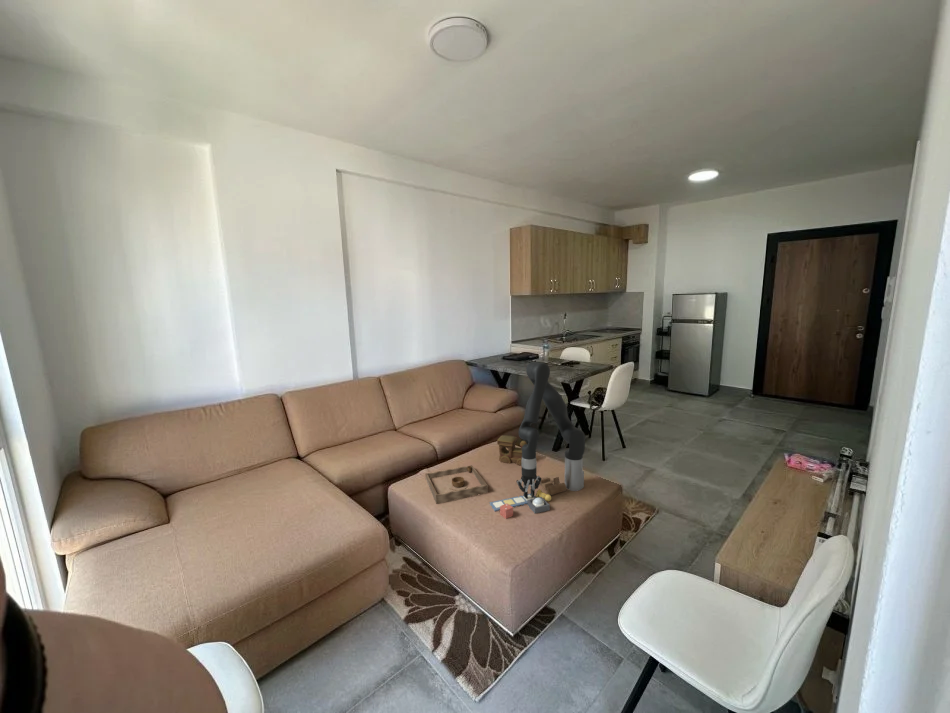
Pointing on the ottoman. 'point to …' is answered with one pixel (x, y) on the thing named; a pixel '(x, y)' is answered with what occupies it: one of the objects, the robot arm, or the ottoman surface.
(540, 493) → the pawn
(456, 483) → the place setting
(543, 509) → the base
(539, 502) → the dome
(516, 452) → the wooden toy train
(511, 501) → the board
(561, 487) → the wooden block set
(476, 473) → the serving frame
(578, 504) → the ottoman surface
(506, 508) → the die
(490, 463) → the ottoman surface
